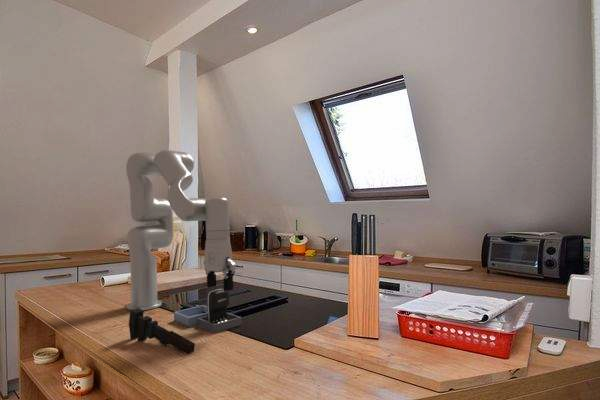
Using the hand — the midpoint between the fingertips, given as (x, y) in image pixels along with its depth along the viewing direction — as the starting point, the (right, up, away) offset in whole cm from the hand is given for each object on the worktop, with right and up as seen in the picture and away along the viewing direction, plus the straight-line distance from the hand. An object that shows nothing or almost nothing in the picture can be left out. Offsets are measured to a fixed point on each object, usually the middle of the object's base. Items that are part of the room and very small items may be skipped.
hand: (219, 288), depth 120 cm
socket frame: (0, -12, 0) cm, 12 cm away
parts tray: (-9, -12, +7) cm, 17 cm away
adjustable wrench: (-13, -13, -15) cm, 24 cm away
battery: (0, -12, 0) cm, 12 cm away
